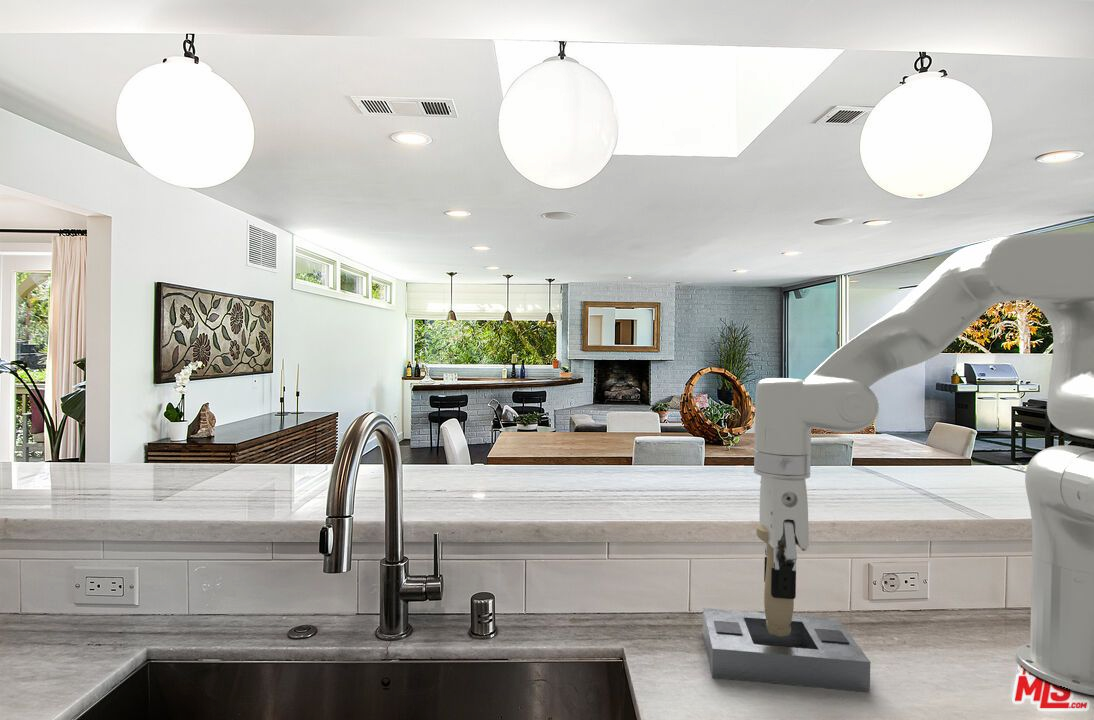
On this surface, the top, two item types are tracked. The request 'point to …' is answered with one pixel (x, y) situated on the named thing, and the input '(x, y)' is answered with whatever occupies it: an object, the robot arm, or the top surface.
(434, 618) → the top surface
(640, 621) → the top surface
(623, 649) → the top surface
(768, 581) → the handle
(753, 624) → the block
